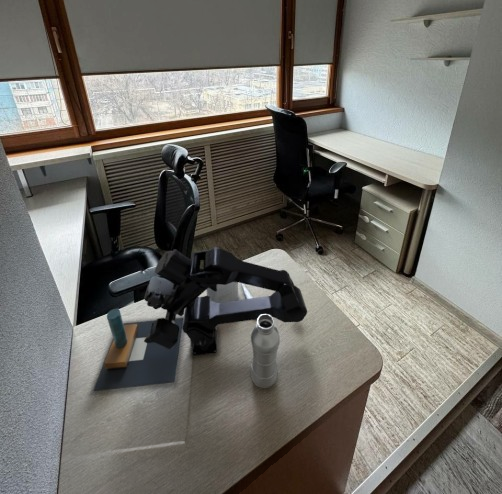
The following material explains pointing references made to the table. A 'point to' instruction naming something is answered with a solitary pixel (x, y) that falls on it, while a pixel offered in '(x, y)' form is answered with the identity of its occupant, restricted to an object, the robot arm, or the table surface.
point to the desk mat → (143, 362)
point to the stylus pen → (246, 292)
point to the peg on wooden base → (120, 341)
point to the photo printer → (224, 293)
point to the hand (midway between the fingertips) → (150, 324)
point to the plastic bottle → (264, 352)
